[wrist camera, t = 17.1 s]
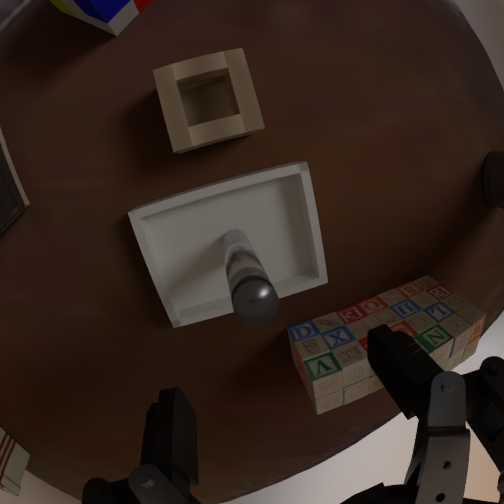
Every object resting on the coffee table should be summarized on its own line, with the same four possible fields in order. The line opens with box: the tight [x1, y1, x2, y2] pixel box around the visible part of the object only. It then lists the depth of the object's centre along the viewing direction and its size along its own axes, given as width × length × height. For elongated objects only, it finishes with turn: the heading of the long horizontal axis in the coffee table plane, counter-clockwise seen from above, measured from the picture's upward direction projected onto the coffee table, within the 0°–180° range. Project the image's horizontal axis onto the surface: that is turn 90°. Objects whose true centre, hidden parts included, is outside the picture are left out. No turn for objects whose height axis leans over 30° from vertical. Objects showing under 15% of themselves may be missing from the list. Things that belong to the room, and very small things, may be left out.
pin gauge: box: [221, 229, 279, 325], centre depth 21 cm, size 3×3×12 cm
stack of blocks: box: [287, 275, 486, 414], centre depth 28 cm, size 21×6×12 cm, turn 103°
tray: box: [128, 161, 328, 328], centre depth 26 cm, size 16×12×3 cm
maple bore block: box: [153, 48, 264, 154], centre depth 20 cm, size 7×7×5 cm
